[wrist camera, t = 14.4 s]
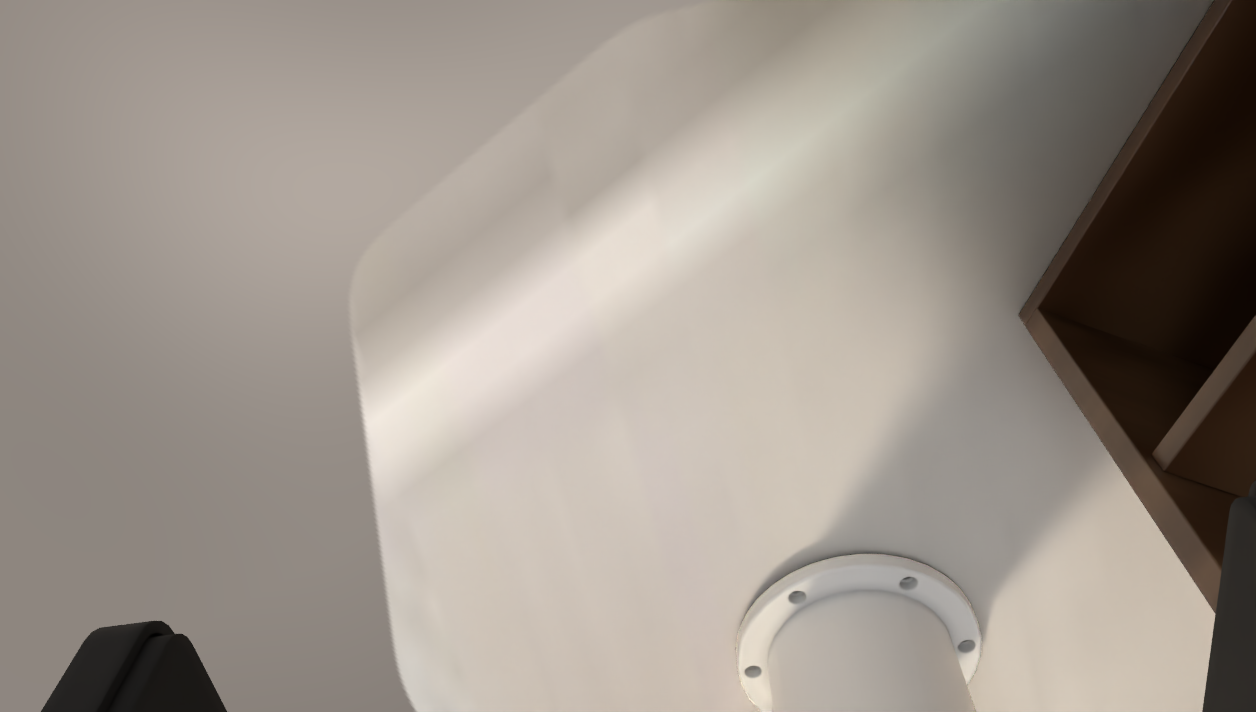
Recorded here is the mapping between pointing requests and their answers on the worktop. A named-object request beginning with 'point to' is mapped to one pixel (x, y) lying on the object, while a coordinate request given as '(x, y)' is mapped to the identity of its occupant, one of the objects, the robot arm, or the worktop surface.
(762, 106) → the worktop surface
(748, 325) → the worktop surface
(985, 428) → the worktop surface
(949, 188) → the worktop surface
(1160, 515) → the cupboard
